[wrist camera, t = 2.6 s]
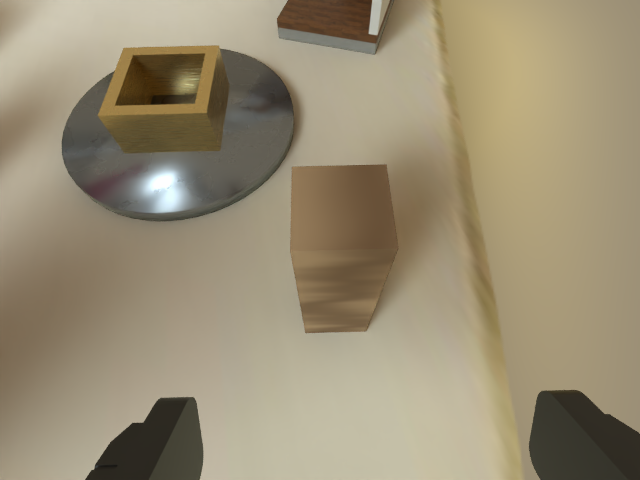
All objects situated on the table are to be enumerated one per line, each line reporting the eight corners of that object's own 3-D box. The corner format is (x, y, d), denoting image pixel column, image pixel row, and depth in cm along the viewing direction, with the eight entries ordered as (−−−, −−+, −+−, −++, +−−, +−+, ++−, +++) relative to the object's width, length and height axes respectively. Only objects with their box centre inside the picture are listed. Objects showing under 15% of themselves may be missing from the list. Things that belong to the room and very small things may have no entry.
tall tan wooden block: (305, 332, 24) (290, 251, 13) (305, 276, 26) (291, 166, 15) (365, 331, 24) (398, 248, 13) (361, 275, 26) (386, 164, 15)
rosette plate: (36, 224, 28) (-20, 183, 24) (104, 60, 38) (74, 8, 33) (292, 217, 28) (286, 175, 24) (295, 55, 38) (291, 3, 33)
